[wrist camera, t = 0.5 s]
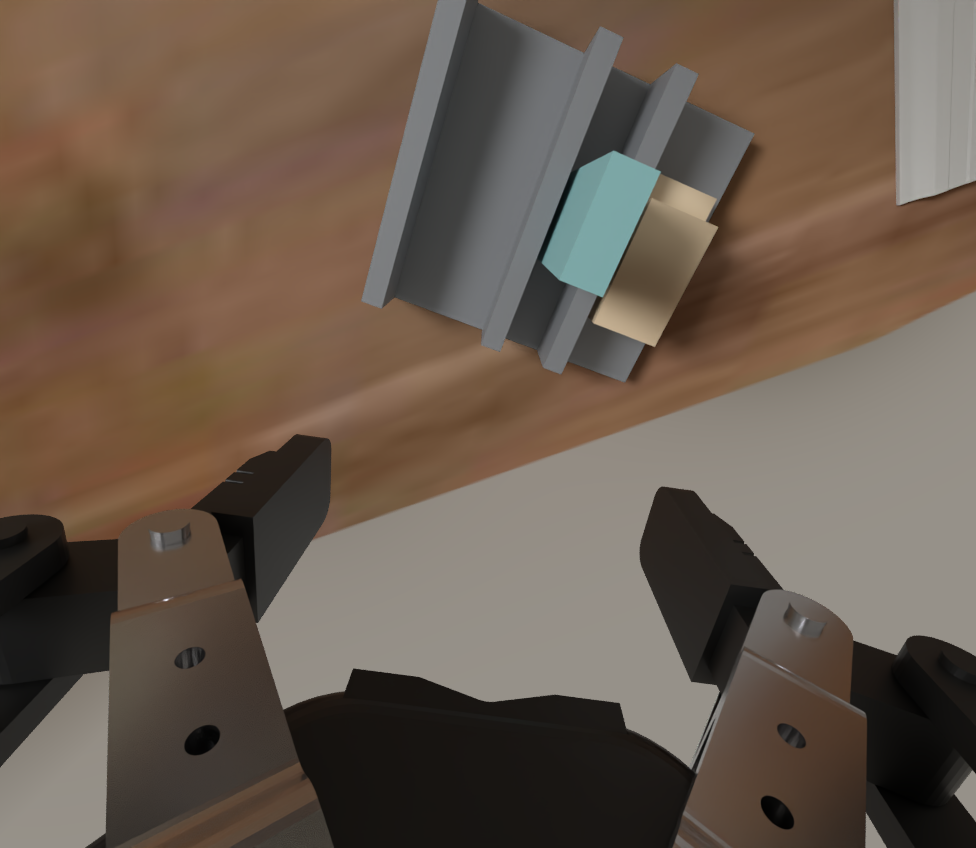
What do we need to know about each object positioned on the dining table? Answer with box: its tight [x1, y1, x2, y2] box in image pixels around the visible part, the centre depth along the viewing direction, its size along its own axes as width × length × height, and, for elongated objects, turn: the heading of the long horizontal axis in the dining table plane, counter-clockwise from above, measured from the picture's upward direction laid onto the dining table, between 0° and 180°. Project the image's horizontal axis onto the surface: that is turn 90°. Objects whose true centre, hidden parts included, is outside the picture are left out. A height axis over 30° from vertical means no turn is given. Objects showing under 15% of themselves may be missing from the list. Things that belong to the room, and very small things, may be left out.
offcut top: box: [588, 198, 718, 347], centre depth 27 cm, size 7×4×2 cm, turn 160°
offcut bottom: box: [649, 174, 717, 221], centre depth 28 cm, size 8×4×2 cm, turn 160°
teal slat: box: [537, 151, 661, 297], centre depth 24 cm, size 5×2×11 cm, turn 160°
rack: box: [361, 0, 754, 382], centre depth 27 cm, size 16×18×6 cm
